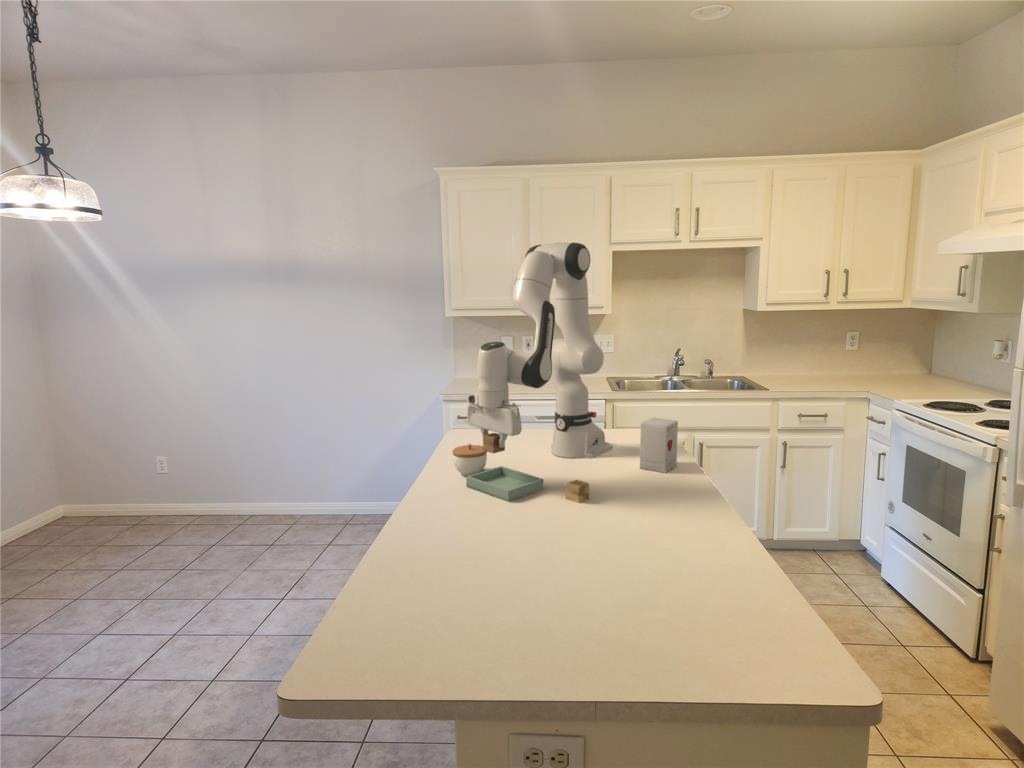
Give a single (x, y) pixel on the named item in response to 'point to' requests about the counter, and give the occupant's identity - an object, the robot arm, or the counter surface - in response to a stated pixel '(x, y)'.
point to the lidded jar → (469, 459)
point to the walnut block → (491, 443)
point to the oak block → (577, 491)
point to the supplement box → (658, 444)
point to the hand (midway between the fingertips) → (494, 445)
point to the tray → (505, 483)
